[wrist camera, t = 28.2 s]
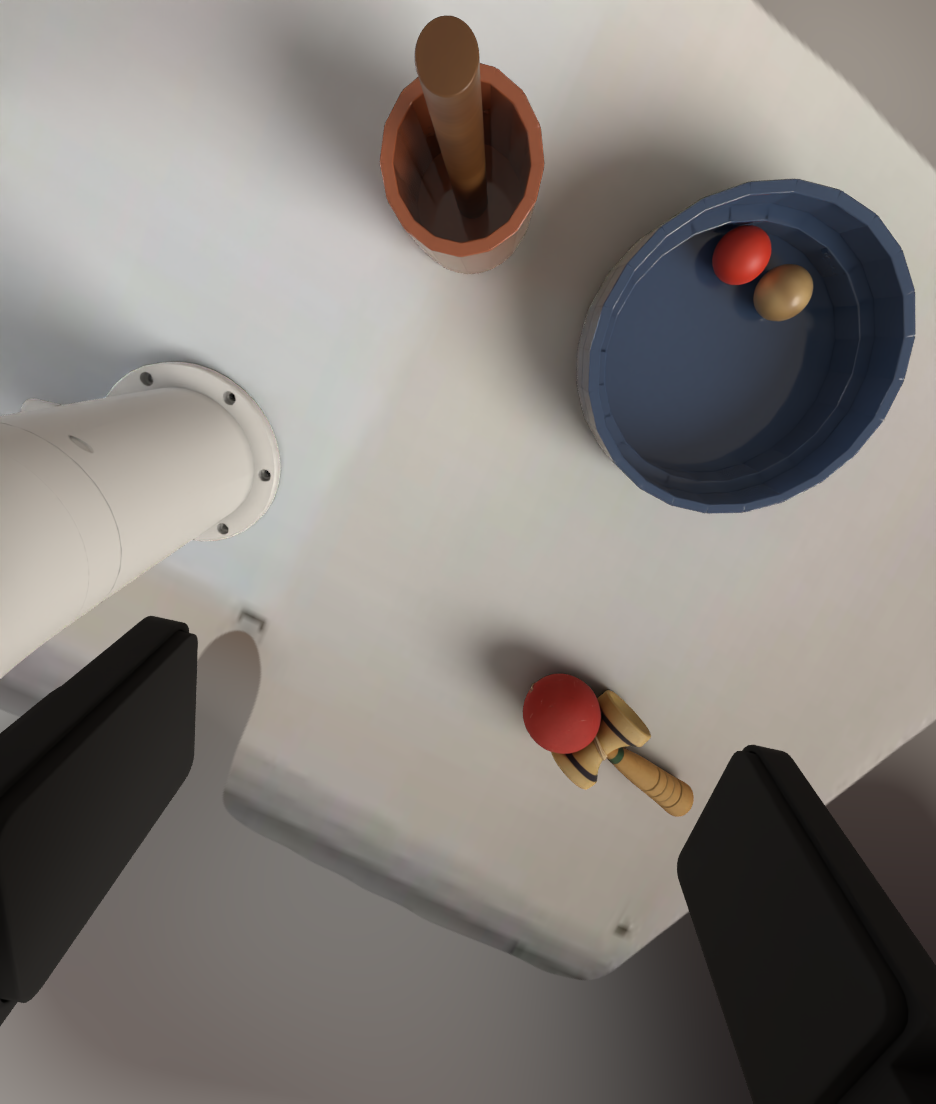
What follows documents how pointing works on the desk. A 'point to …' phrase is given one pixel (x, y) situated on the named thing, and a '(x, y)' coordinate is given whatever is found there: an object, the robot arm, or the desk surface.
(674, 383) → the bowl
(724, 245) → the red bead
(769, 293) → the beech bead
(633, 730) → the kendama
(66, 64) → the desk surface
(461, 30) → the stick
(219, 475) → the robot arm
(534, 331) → the desk surface
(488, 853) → the desk surface
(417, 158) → the holder
